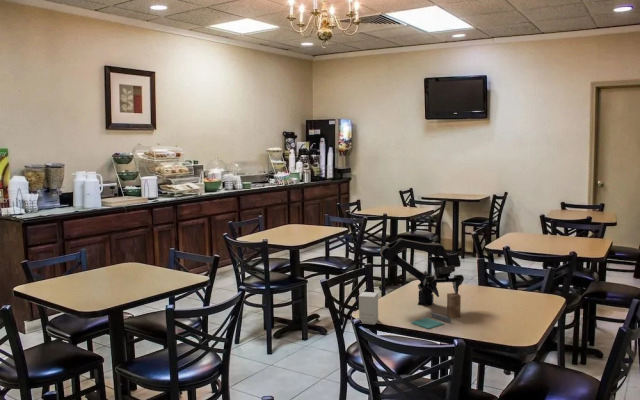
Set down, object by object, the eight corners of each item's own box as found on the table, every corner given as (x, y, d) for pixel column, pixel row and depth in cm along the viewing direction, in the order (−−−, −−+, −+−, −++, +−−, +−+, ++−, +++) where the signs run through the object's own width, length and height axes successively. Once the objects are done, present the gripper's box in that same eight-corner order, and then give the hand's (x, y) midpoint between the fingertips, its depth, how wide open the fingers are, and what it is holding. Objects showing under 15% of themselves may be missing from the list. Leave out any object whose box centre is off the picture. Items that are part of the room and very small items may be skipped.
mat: (411, 323, 238) (411, 322, 238) (426, 318, 244) (426, 317, 244) (428, 329, 230) (428, 328, 230) (443, 324, 236) (443, 323, 235)
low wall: (431, 317, 245) (431, 312, 245) (433, 316, 246) (433, 312, 246) (448, 322, 237) (448, 318, 237) (450, 322, 238) (450, 317, 238)
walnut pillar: (450, 317, 244) (450, 296, 243) (447, 314, 249) (447, 293, 248) (460, 317, 245) (460, 295, 244) (456, 314, 249) (456, 293, 248)
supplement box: (378, 319, 243) (378, 292, 242) (374, 325, 236) (374, 296, 235) (362, 318, 245) (362, 291, 244) (358, 323, 238) (358, 295, 237)
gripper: (425, 259, 256) (432, 288, 246) (462, 258, 258) (471, 286, 249) (419, 272, 265) (427, 300, 255) (456, 270, 267) (464, 298, 257)
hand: (447, 296), depth 254 cm, fingers open, 9 cm apart
